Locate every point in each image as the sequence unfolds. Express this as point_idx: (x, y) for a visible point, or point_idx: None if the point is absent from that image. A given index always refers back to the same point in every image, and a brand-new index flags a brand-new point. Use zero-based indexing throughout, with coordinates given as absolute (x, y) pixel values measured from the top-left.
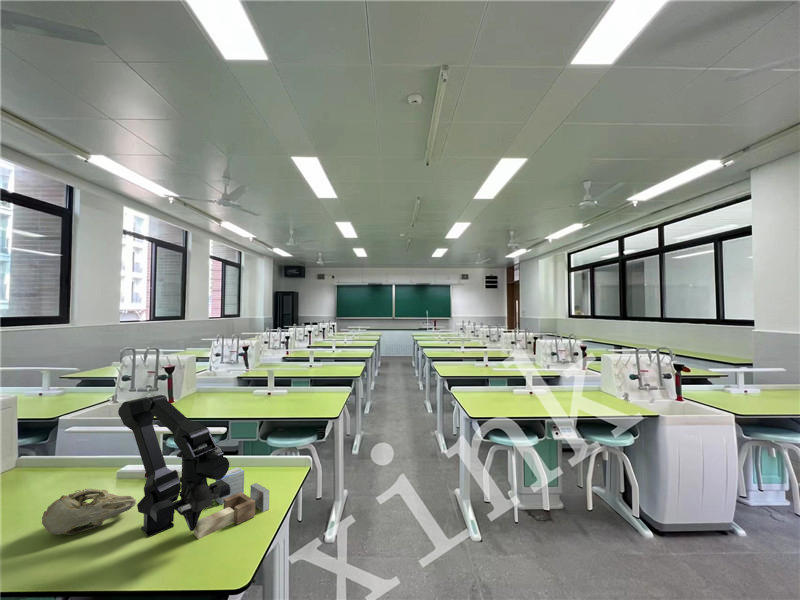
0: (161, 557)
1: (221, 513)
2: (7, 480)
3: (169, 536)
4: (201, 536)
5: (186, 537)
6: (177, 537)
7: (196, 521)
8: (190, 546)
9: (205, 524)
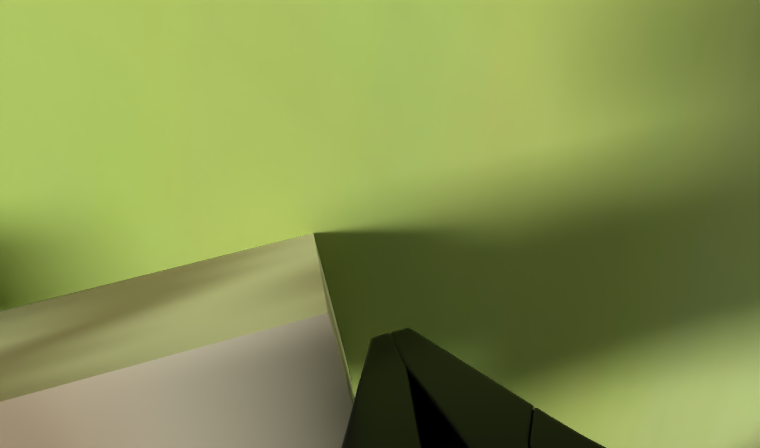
0: (669, 132)
1: None
2: None
3: None
4: (280, 247)
5: None
6: None
7: (370, 414)
8: (414, 140)
9: (216, 335)
